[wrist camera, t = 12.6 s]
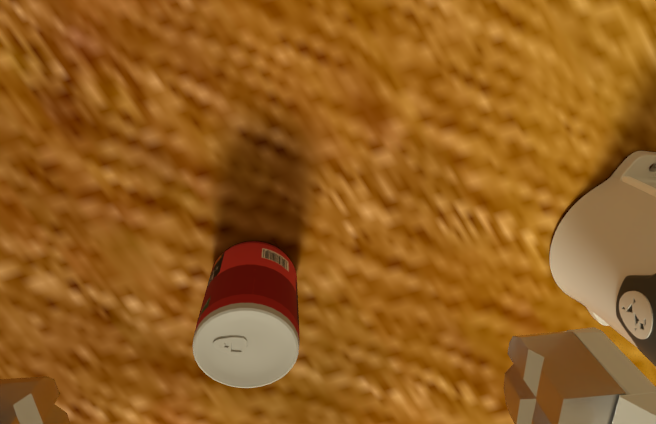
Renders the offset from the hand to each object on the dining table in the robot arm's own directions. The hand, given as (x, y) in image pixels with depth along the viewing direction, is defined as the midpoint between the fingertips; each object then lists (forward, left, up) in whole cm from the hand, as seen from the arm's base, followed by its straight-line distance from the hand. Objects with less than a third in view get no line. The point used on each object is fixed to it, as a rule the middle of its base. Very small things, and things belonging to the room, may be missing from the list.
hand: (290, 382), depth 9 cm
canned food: (+5, +17, -34) cm, 38 cm away
